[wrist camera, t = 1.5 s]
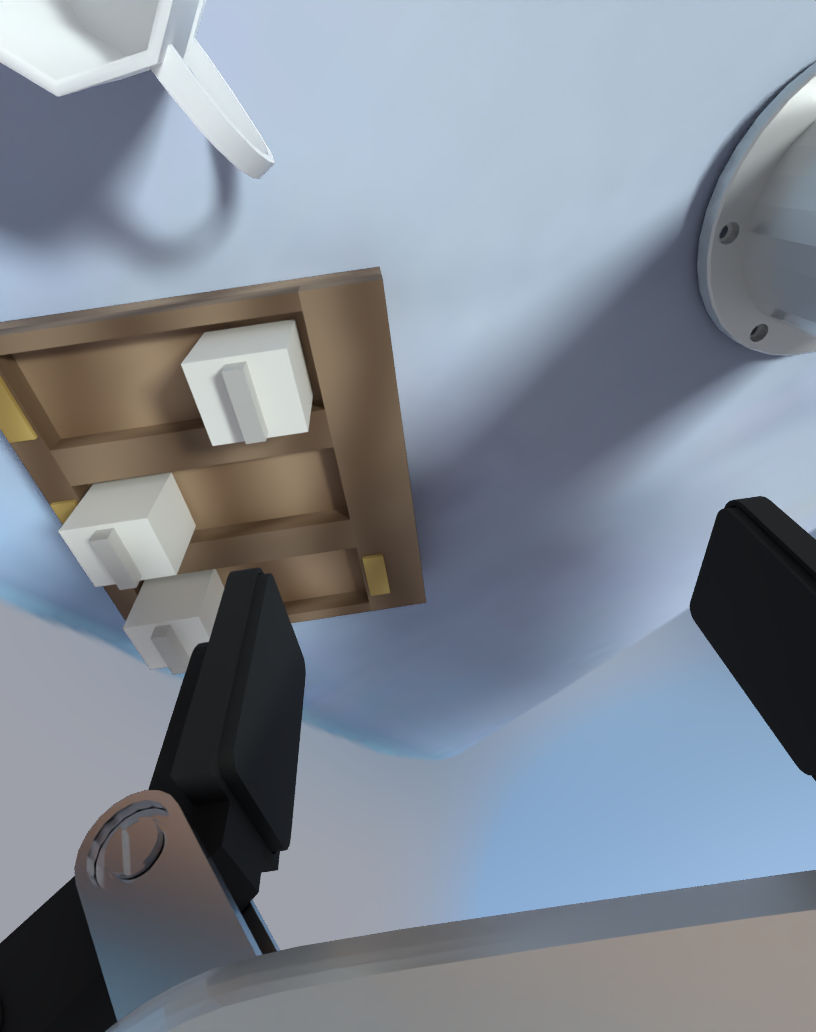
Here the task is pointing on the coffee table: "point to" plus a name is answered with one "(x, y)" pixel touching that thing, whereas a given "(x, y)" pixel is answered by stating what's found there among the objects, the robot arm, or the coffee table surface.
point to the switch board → (236, 466)
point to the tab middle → (130, 530)
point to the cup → (131, 61)
